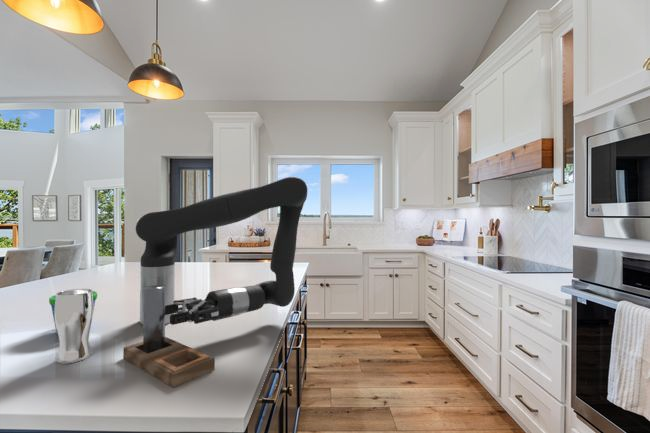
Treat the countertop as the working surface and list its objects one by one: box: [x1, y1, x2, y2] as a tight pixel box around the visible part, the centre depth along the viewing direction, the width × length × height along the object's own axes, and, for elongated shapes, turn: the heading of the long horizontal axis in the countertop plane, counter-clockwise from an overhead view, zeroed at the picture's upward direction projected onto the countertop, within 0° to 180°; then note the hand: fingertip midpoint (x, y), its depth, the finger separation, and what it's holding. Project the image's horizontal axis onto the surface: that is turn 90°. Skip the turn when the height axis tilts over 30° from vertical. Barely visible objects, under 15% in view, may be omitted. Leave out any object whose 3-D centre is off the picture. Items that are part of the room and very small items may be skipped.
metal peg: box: [142, 285, 166, 354], centre depth 75 cm, size 4×4×16 cm
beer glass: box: [54, 288, 94, 365], centre depth 74 cm, size 7×7×15 cm
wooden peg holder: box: [122, 336, 216, 388], centre depth 71 cm, size 21×9×3 cm, turn 54°
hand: (163, 315), depth 76 cm, fingers open, 8 cm apart
